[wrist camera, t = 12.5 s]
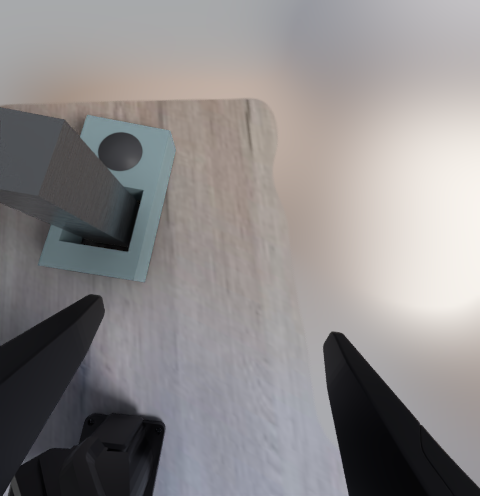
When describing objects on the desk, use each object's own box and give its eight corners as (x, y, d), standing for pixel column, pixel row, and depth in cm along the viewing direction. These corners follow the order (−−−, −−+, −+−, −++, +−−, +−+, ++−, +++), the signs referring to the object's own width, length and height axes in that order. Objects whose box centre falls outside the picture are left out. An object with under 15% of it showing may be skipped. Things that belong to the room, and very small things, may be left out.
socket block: (144, 282, 23) (133, 280, 20) (61, 269, 22) (37, 265, 19) (175, 149, 25) (169, 130, 22) (102, 135, 25) (86, 114, 22)
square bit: (133, 248, 23) (37, 195, 11) (91, 241, 23) (-55, 179, 11) (143, 209, 24) (64, 119, 12) (102, 202, 24) (-22, 103, 12)
